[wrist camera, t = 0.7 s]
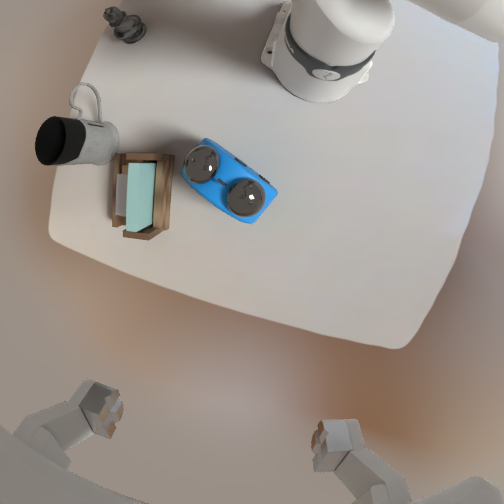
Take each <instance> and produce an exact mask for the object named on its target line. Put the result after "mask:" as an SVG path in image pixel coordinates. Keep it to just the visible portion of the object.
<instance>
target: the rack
mask: <svg viewBox="0 0 504 504" xmlns="http://www.w3.org/2000/svg"><path fill="white" fill-rule="evenodd" d="M129 163H157V167H156V179H155V194H154V212H153V223H152V224H151V225H149V226H147V227H145V228H143V229H141V230H139V231H137V232H132V231H126V229H125V230H123V237H127V238H135V239H142V240H150V239H152V238H153V237H155V236H156V235H158V234H159V233H161V232H162V231H164V230H167V229H169V217H170V201H171V187H172V175H173V165H174V155H165V154H155V153H126V154H115V165H114V181H113V210H112V227H119V226H121V225H126V217H124V216H120V215H116V184H117V174H122V165H129Z"/></svg>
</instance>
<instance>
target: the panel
mask: <svg viewBox="0 0 504 504" xmlns="http://www.w3.org/2000/svg"><path fill="white" fill-rule="evenodd" d="M156 167H157V163H129V168H128V182H127V204H126V231H132V232H137V231H139V230H141V229H143V228H145V227H147V226H149V225H151V224H152V223H153V212H154V194H155V179H156Z"/></svg>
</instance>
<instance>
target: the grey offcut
mask: <svg viewBox="0 0 504 504" xmlns="http://www.w3.org/2000/svg"><path fill="white" fill-rule="evenodd" d="M127 182H128V174H117V184H116V215H121V216H126V204H127Z"/></svg>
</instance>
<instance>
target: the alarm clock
mask: <svg viewBox="0 0 504 504" xmlns="http://www.w3.org/2000/svg"><path fill="white" fill-rule="evenodd" d="M182 175H183V177H184V178H185V180H186V181H187V182H188V183H189V184H190V185H191V186H192V187H193V188H194V189H195V190H196V191H197V192H198V193H199V194H200V195H201V196H203V197H204V198H205V199H206V200H208V201H209V202H210V203H212V204H213V205H214V206H216V207H217V208H219V209H220V210H222V211H223V212H225V213H226V214H228V215H230V216H231V217H233V218H235V219H237V220H239V221H241V222H244V223H248V224H252V223H254V222H255V221H256V220H257V219H258V218H259V216H260V215H261V214H262V213H263V212H264V210H265V209H266V208H267V207H268V205H269V204H270V203H271V202H272V201H273V199H274V198H275V197H276V196H277V194H278V192H277V190H276V189H275V188H274V187H273V186H272V185H271V184H270V182H268V181H267V180H265V178H263V177H262V176H261V175H259V174H258V173H256V172H255V171H254V170H252V169H251V168H250V167H249V166H247V165H246V164H245V163H243V162H242V161H241V160H239V159H238V158H237V157H235V156H234V155H233V154H231V153H230V152H228V151H227V150H225V149H224V148H223V147H221V146H220V145H218V144H217V143H215V142H213V141H212V140H210V139H208V138H204V139H203V140H202V142H201V143H200V144H199V146H197V147H195V148H193V149H192V150H191V151H190V152H189V153H188V154H187V156H186V157H185V160H184V164H183V168H182Z"/></svg>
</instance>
